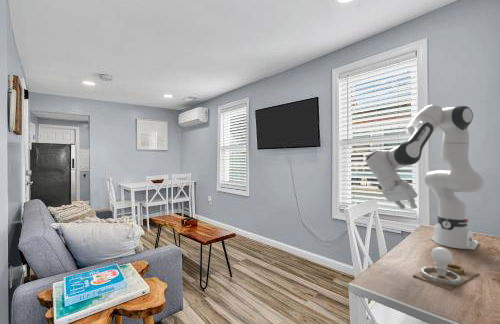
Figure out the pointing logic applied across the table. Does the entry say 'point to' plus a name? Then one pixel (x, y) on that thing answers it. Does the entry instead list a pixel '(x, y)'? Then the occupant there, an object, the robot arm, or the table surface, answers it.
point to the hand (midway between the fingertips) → (408, 208)
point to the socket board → (452, 278)
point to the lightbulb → (441, 259)
